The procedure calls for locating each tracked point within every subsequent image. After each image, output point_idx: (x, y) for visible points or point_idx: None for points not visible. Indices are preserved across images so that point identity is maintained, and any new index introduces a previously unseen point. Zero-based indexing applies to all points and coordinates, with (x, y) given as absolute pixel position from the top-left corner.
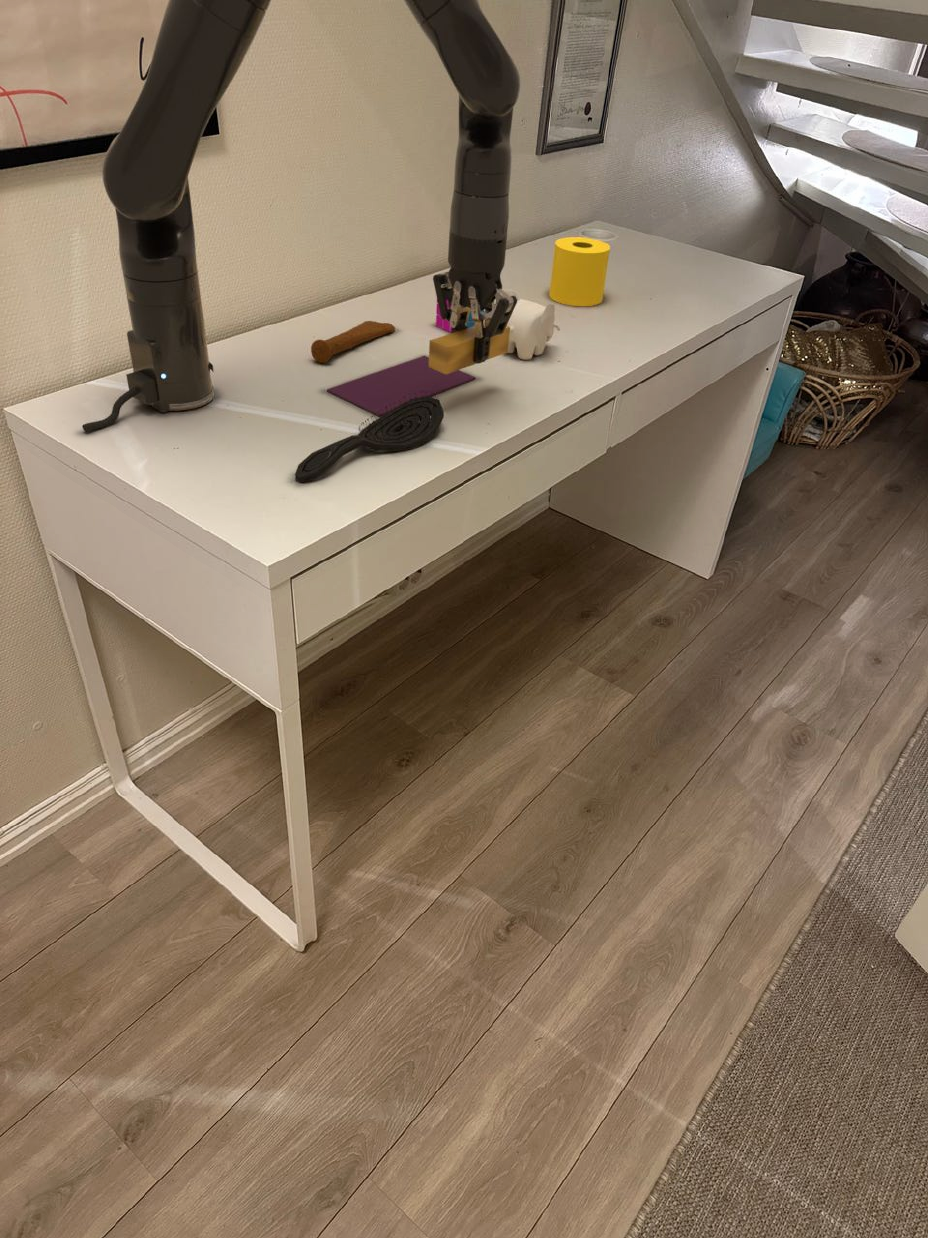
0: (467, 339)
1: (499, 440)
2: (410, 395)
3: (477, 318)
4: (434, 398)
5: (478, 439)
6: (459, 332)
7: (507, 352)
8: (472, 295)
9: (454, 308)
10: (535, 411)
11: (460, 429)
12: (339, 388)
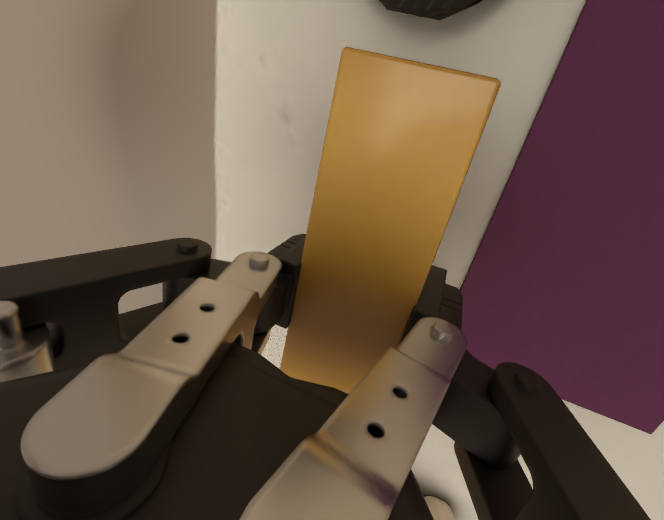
0: (317, 232)
1: (220, 44)
2: (575, 135)
3: (205, 278)
4: (411, 5)
5: (259, 7)
6: (395, 297)
7: (429, 496)
8: (120, 379)
9: (406, 367)
10: (241, 244)
11: (326, 28)
12: None
